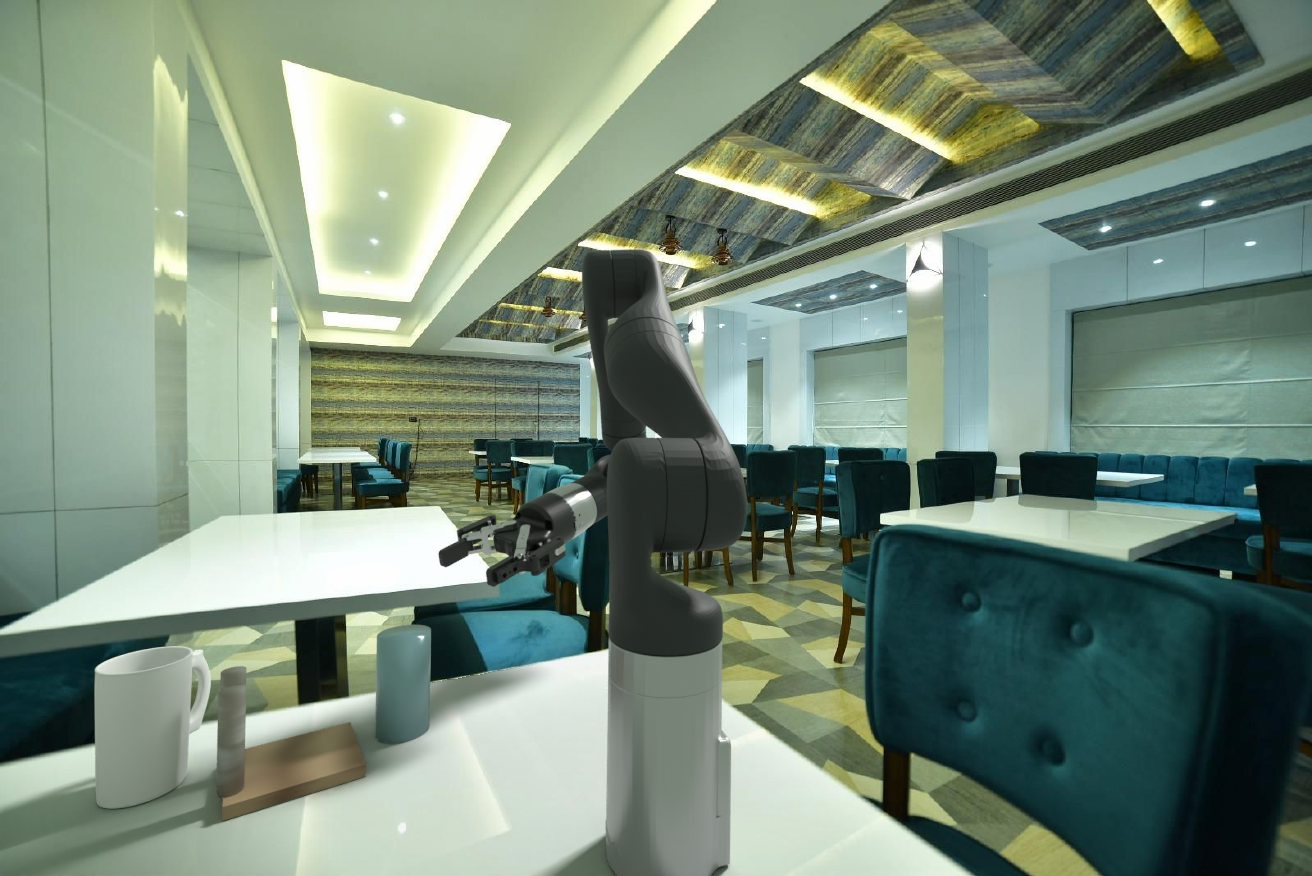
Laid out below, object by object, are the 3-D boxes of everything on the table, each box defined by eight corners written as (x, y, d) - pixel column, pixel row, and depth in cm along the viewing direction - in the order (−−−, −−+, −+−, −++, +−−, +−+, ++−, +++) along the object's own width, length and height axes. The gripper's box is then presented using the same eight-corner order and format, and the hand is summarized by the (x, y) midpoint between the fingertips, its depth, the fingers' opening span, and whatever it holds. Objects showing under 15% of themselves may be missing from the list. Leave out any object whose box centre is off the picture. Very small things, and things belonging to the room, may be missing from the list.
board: (350, 732, 62) (351, 641, 62) (365, 776, 54) (367, 671, 54) (219, 767, 55) (221, 664, 55) (214, 823, 47) (216, 703, 47)
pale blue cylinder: (432, 715, 66) (433, 623, 66) (426, 739, 61) (428, 639, 61) (380, 721, 65) (382, 626, 65) (370, 746, 59) (371, 643, 59)
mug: (137, 815, 48) (140, 676, 48) (69, 808, 49) (72, 672, 49) (237, 751, 58) (239, 636, 58) (179, 746, 59) (181, 633, 59)
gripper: (519, 483, 81) (421, 527, 68) (595, 502, 73) (502, 556, 60) (524, 529, 83) (430, 580, 70) (599, 553, 76) (510, 615, 63)
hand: (464, 569), depth 65 cm, fingers open, 8 cm apart
